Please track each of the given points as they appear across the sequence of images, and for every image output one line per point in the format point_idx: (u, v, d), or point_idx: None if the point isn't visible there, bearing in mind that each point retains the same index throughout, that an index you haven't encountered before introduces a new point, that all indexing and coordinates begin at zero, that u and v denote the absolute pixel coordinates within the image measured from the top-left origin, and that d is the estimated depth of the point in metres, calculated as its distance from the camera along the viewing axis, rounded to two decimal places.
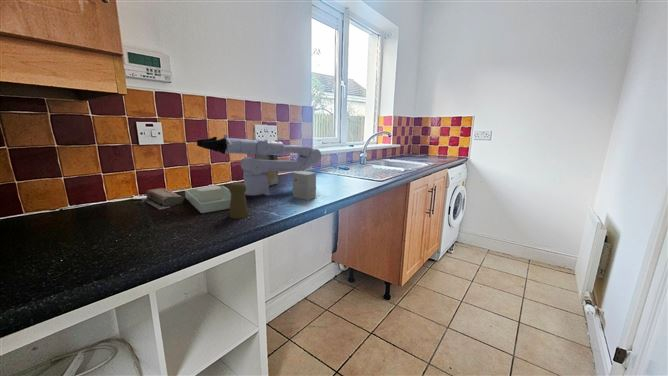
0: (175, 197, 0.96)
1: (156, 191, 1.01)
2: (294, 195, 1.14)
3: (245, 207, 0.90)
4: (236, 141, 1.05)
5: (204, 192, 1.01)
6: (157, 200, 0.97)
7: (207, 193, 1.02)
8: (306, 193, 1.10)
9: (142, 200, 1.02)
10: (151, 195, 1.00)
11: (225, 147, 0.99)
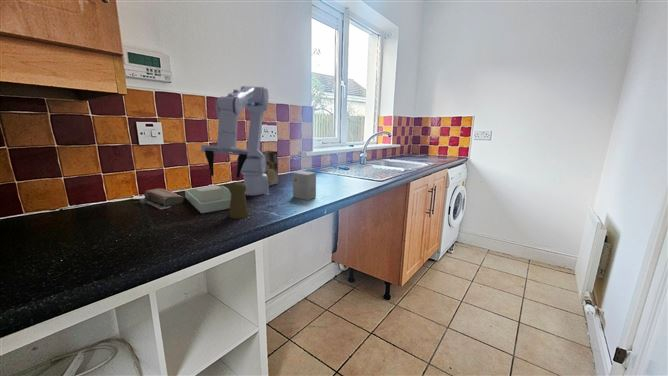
0: (176, 197, 0.97)
1: (155, 191, 1.01)
2: (294, 195, 1.14)
3: (245, 207, 0.90)
4: (234, 138, 0.88)
5: (204, 192, 1.01)
6: (157, 200, 0.97)
7: (207, 193, 1.02)
8: (306, 193, 1.10)
9: (140, 200, 1.01)
10: (150, 195, 1.00)
11: None
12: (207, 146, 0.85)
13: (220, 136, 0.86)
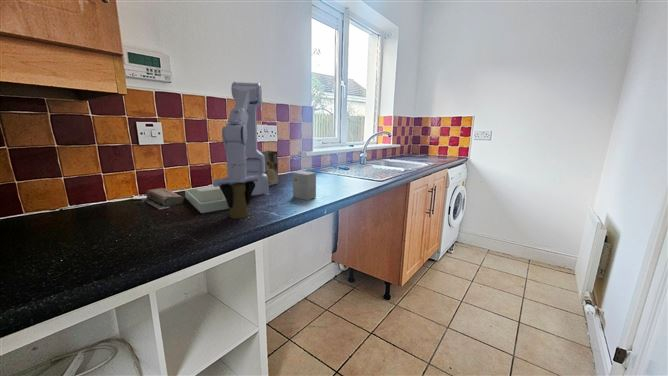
0: (175, 197, 0.96)
1: (156, 191, 1.02)
2: (294, 195, 1.14)
3: (245, 207, 0.90)
4: (245, 168, 0.87)
5: (204, 192, 1.01)
6: (157, 200, 0.97)
7: (207, 193, 1.02)
8: (306, 193, 1.10)
9: (142, 200, 1.02)
10: (151, 195, 1.00)
11: None
12: (220, 181, 0.84)
13: (231, 169, 0.85)
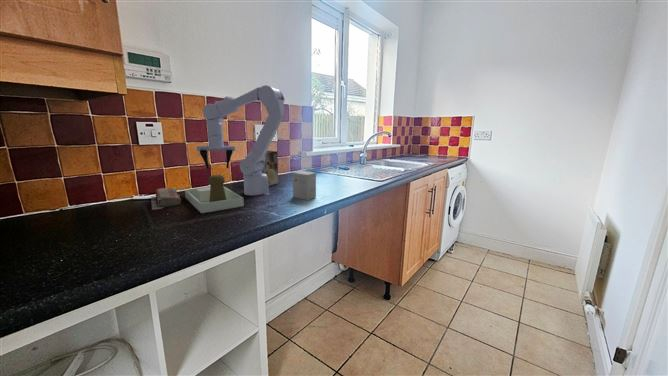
0: (171, 198, 0.95)
1: (162, 190, 1.03)
2: (294, 195, 1.14)
3: (224, 198, 0.96)
4: (221, 139, 1.12)
5: (204, 192, 1.01)
6: (157, 200, 0.98)
7: (207, 193, 1.02)
8: (306, 193, 1.10)
9: None
10: (156, 194, 1.02)
11: (232, 151, 1.17)
12: (201, 147, 1.11)
13: (209, 138, 1.11)
